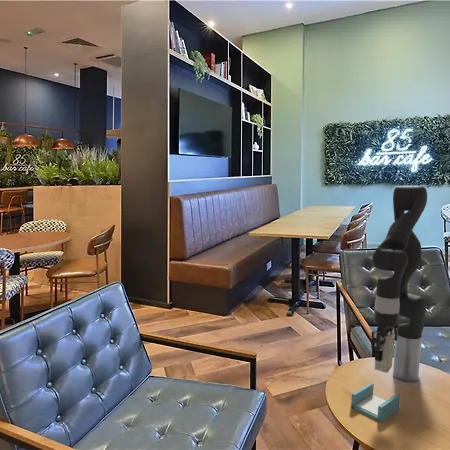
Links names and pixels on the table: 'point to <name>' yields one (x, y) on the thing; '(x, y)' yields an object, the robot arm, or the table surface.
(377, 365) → the skincare box
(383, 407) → the u rest
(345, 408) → the table surface
